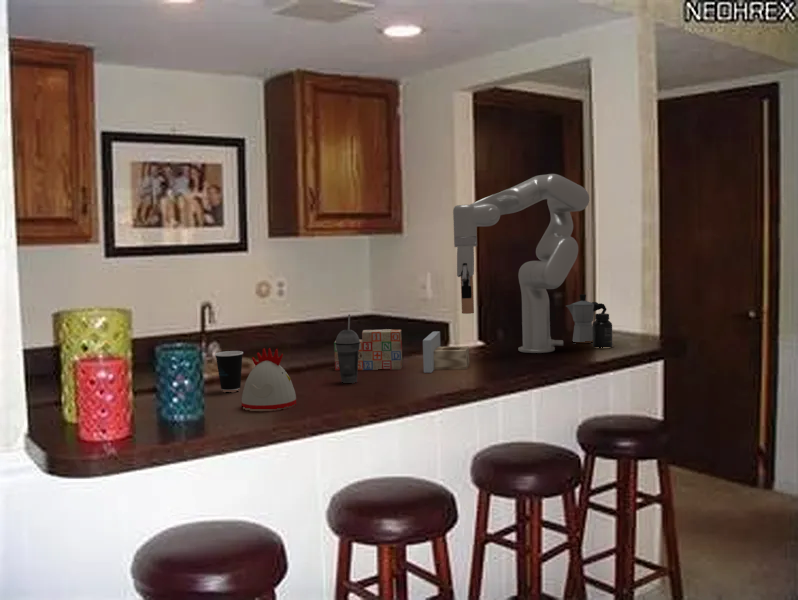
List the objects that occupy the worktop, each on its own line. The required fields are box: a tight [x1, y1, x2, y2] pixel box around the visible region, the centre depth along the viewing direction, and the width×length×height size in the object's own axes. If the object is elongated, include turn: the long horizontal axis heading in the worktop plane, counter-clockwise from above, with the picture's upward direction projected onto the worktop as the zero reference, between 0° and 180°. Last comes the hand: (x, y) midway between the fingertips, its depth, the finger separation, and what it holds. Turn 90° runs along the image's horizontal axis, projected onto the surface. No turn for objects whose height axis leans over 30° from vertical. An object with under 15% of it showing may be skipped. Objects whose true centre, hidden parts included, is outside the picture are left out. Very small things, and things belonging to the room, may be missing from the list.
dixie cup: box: [214, 350, 244, 391], centre depth 235 cm, size 8×8×11 cm
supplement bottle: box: [592, 312, 613, 348], centre depth 295 cm, size 7×7×12 cm
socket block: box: [433, 345, 470, 371], centre depth 265 cm, size 10×10×6 cm
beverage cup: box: [335, 314, 360, 384], centre depth 243 cm, size 7×7×20 cm
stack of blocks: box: [333, 328, 403, 371], centre depth 267 cm, size 21×6×12 cm, turn 86°
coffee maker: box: [565, 294, 607, 342], centre depth 309 cm, size 15×9×18 cm, turn 80°
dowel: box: [460, 272, 475, 315], centre depth 276 cm, size 4×4×14 cm
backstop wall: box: [422, 330, 441, 374], centre depth 266 cm, size 2×22×10 cm, turn 170°
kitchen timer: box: [241, 347, 297, 409], centre depth 213 cm, size 14×14×15 cm
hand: (467, 297), depth 276 cm, fingers closed on dowel, 4 cm apart
